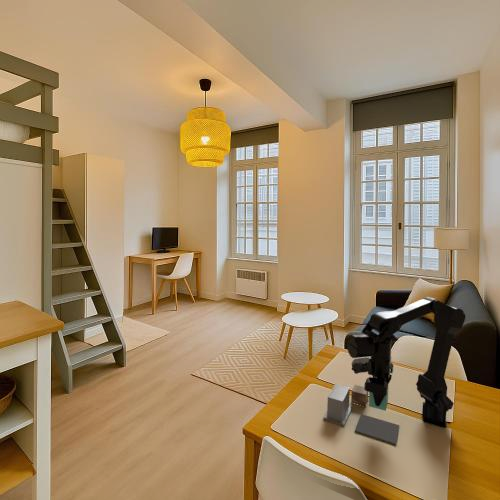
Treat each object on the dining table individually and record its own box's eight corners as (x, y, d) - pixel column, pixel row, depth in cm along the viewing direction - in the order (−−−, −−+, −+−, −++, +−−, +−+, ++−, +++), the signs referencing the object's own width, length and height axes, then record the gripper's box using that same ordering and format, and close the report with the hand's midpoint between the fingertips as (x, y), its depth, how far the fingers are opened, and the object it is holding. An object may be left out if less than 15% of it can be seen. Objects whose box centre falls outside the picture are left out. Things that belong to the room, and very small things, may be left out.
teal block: (387, 402, 102) (388, 388, 102) (385, 410, 98) (386, 395, 97) (371, 398, 104) (371, 384, 104) (368, 406, 100) (369, 391, 100)
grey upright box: (352, 407, 113) (353, 386, 113) (344, 426, 103) (345, 403, 102) (332, 402, 117) (333, 381, 116) (323, 419, 107) (323, 397, 106)
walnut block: (367, 400, 118) (368, 388, 117) (365, 407, 114) (365, 394, 113) (354, 397, 120) (354, 384, 120) (351, 403, 116) (351, 390, 116)
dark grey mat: (399, 426, 103) (399, 425, 103) (396, 445, 95) (396, 443, 94) (360, 415, 109) (360, 413, 109) (354, 431, 100) (354, 430, 100)
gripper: (360, 339, 111) (358, 381, 113) (347, 360, 95) (346, 409, 97) (394, 346, 106) (392, 390, 107) (387, 368, 90) (385, 420, 91)
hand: (378, 401), depth 101 cm, fingers closed on teal block, 5 cm apart
